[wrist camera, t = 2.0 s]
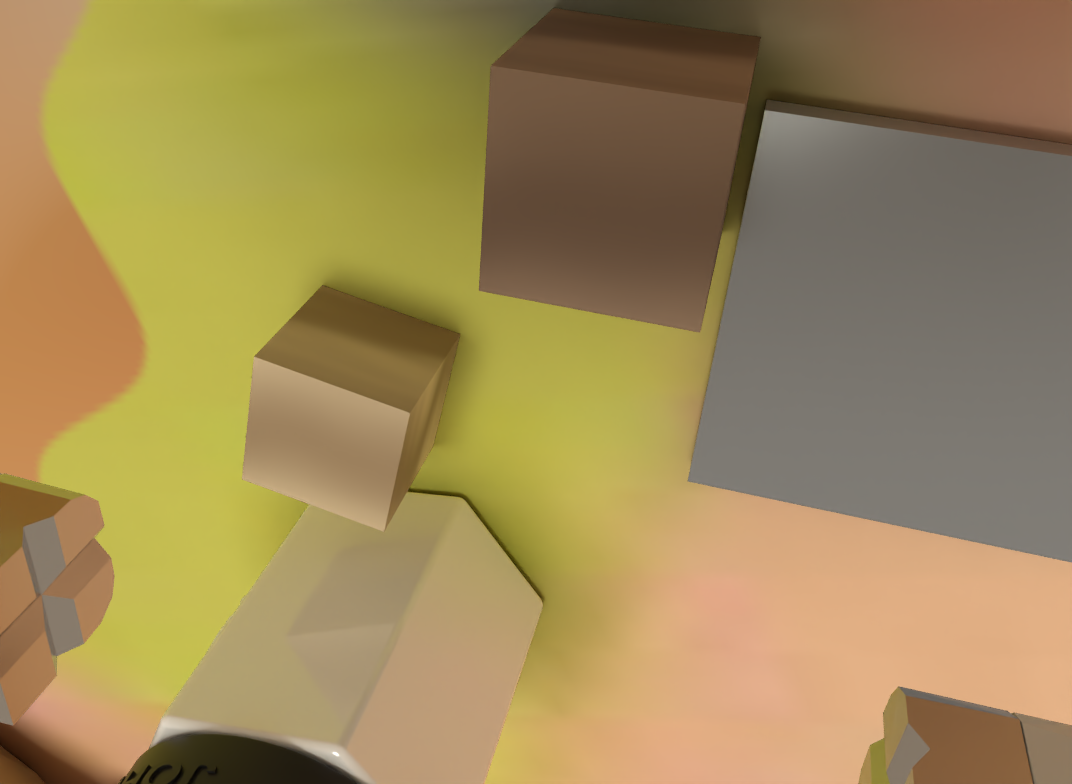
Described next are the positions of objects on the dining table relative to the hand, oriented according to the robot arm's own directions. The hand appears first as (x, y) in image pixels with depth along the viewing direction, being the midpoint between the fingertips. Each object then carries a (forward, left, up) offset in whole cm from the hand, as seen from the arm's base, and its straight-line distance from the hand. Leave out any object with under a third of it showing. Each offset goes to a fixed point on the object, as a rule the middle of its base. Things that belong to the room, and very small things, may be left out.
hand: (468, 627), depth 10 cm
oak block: (+8, -7, -16) cm, 19 cm away
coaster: (+4, +7, -15) cm, 17 cm away
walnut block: (0, -1, -16) cm, 16 cm away
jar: (+16, -6, -16) cm, 23 cm away
